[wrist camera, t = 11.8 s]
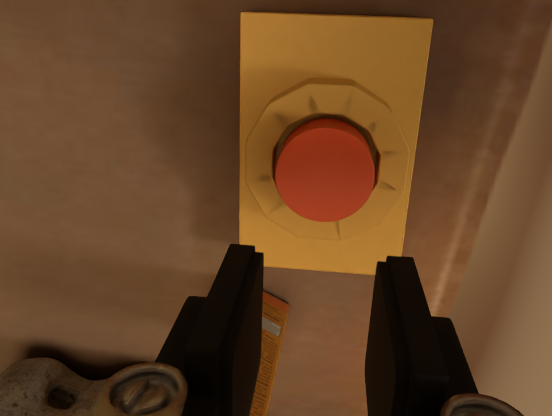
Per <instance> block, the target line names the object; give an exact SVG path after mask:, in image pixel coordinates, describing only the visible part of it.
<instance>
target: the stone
mask: <svg viewBox="0 0 552 416" xmlns="http://www.w3.org/2000/svg"><path fill="white" fill-rule="evenodd" d="M108 379H109V378H108ZM108 379H103V380H97V381H92V380H87V379H85V378H83V377H80V376H79V375H77V374H76V373H75V372H73V371H72V370H71V369H69V368H68V367H67V366H65V365H64V364H63V363H61V362H60V361H58V360H55V359H51V358H30V359H22V360H19V361H17V362H15V363H13V364H12V365H11V366H10V367H9V368H7V369H6V370H5V371H4V372H3V373H2V374H1V375H0V416H87V415H88V413H89V411H90V409H91V407H92V405H93V403H94V401H95V400H96V398H97V396H98V394H99V392H100V390H101V388H102V387H103V385H104V384H105V383H106V381H107V380H108Z"/></svg>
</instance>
